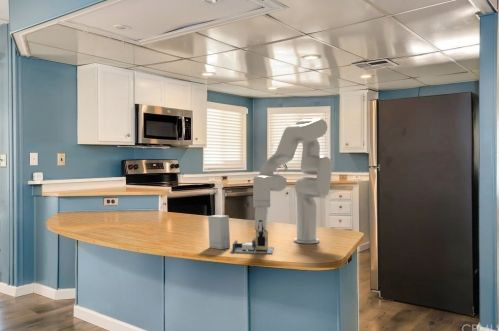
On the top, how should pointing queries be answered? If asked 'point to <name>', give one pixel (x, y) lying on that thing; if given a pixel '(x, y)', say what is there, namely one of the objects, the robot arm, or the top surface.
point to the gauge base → (238, 249)
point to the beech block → (265, 241)
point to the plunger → (249, 245)
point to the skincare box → (219, 231)
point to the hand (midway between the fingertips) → (261, 244)
